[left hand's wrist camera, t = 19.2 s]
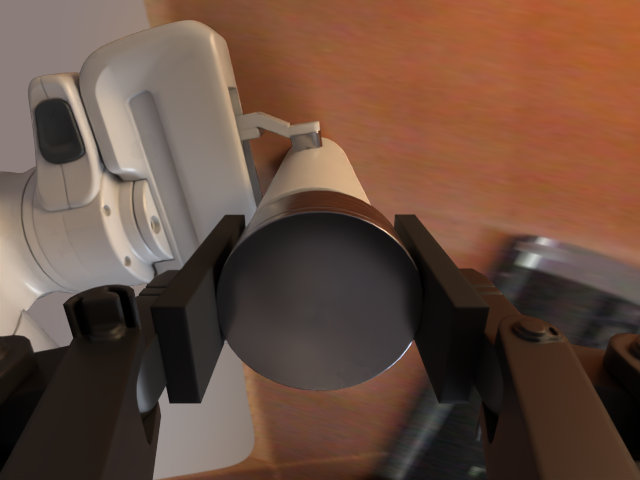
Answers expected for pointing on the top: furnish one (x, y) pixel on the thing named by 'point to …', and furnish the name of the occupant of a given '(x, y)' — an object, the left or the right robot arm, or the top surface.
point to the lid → (319, 292)
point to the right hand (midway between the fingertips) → (329, 186)
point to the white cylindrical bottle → (313, 174)
